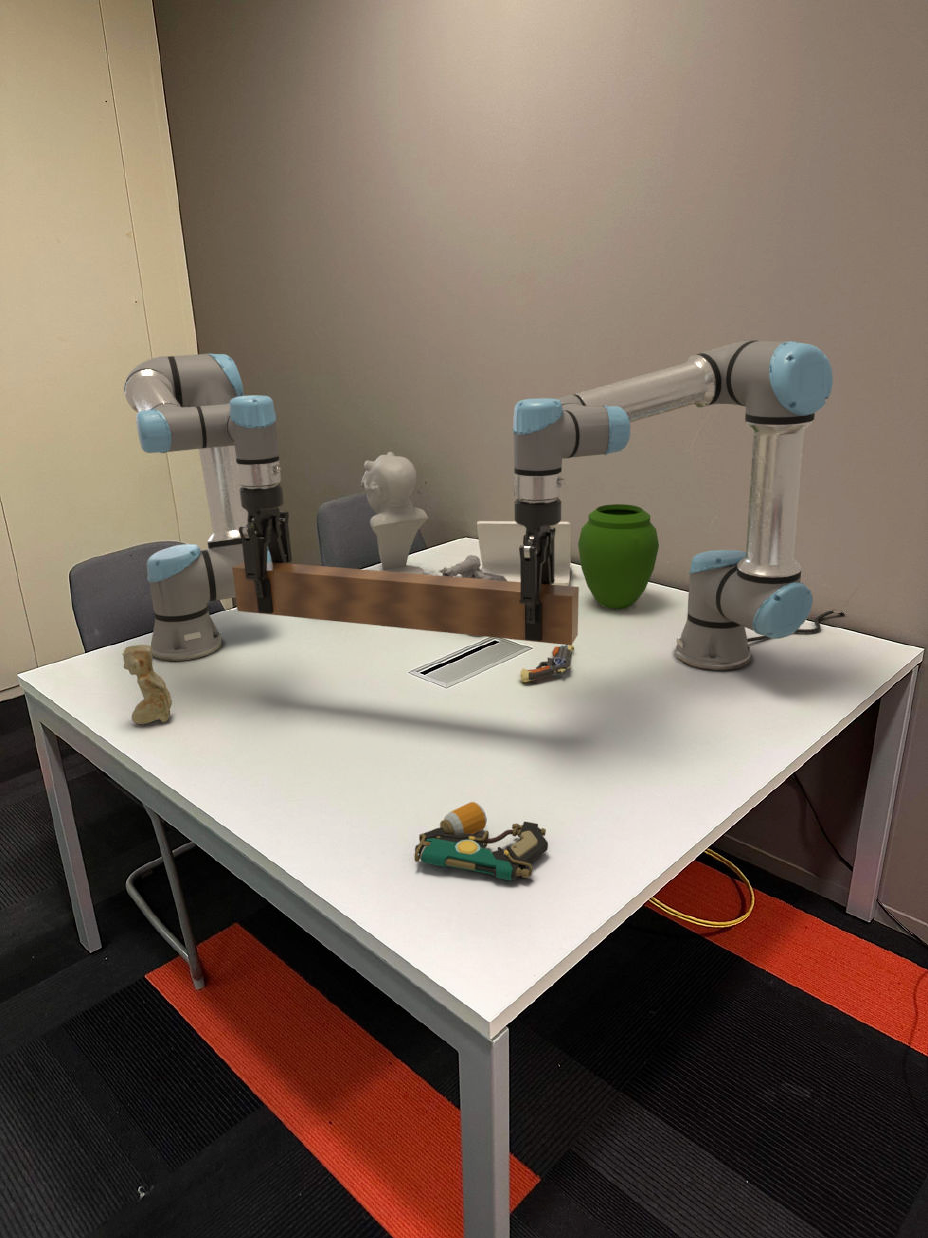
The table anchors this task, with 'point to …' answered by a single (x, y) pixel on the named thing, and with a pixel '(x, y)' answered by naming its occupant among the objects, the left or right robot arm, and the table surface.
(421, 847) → the spray gun
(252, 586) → the beam
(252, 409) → the left robot arm
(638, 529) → the vase
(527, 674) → the toy gun
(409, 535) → the bust sculpture
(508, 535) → the tablet stand
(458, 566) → the toy
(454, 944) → the table surface
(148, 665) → the sculpture
